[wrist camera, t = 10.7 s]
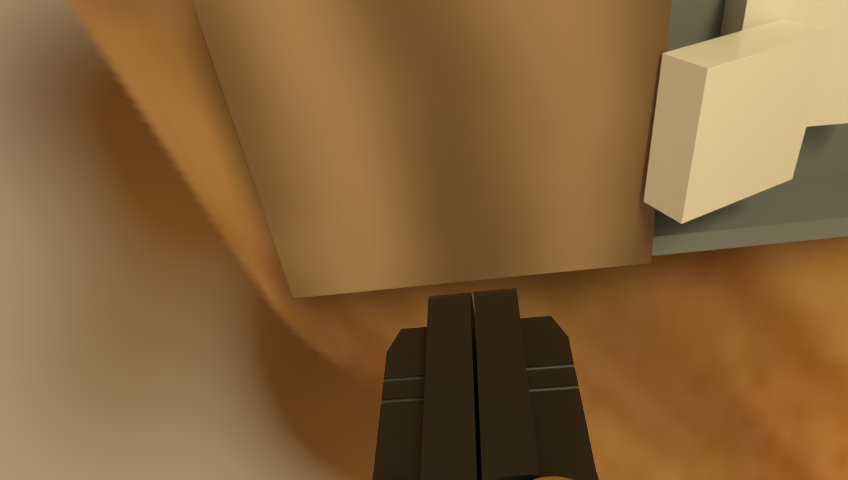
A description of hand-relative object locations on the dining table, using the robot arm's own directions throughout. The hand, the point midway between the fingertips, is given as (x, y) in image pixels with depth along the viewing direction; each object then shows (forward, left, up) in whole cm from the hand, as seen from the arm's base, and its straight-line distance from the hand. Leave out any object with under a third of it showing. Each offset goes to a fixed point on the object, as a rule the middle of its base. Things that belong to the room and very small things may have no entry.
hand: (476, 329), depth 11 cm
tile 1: (-7, +1, -9) cm, 12 cm away
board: (0, 0, -13) cm, 12 cm away
